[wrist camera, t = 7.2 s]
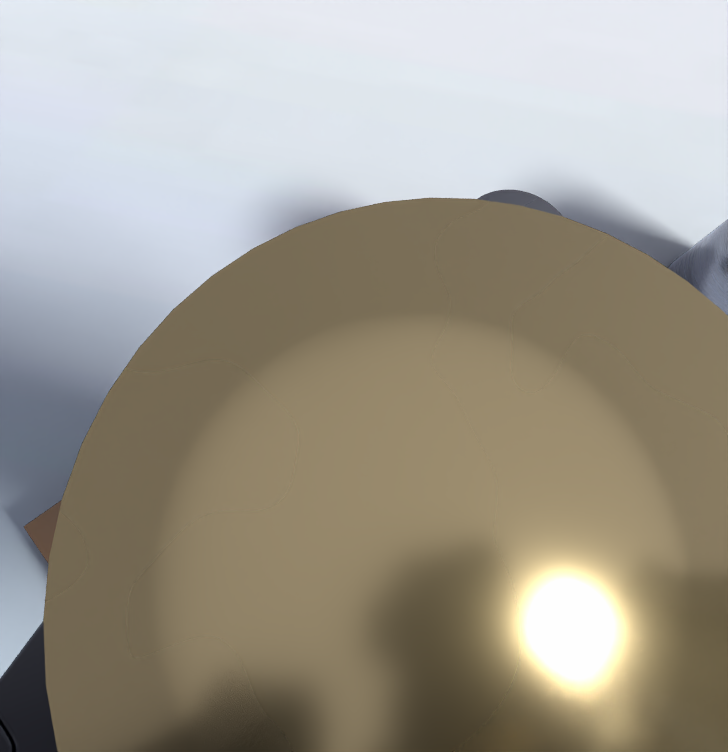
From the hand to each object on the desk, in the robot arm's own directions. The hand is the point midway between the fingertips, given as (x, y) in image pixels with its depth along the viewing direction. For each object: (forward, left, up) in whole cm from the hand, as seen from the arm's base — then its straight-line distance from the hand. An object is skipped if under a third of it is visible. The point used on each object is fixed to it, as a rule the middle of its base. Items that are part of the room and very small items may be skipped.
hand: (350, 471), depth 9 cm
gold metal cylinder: (-1, -1, -7) cm, 7 cm away
